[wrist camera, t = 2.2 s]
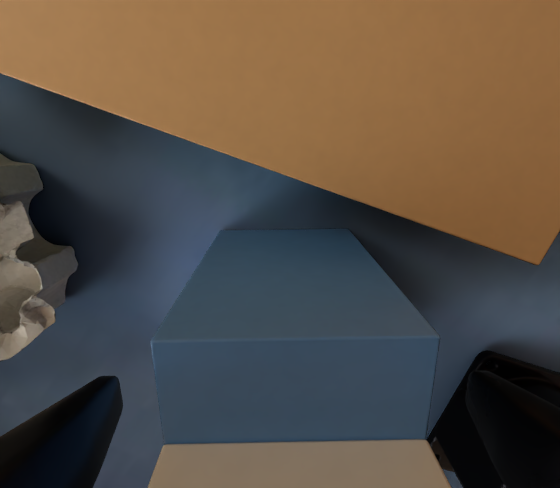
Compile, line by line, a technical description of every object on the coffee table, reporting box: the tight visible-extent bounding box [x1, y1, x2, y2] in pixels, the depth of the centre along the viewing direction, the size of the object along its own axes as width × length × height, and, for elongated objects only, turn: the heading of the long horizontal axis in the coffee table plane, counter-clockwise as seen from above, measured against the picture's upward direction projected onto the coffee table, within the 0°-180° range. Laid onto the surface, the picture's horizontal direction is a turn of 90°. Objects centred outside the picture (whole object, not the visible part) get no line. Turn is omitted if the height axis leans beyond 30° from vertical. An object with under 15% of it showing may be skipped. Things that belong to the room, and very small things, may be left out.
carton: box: [148, 229, 451, 488], centre depth 10 cm, size 5×5×9 cm
